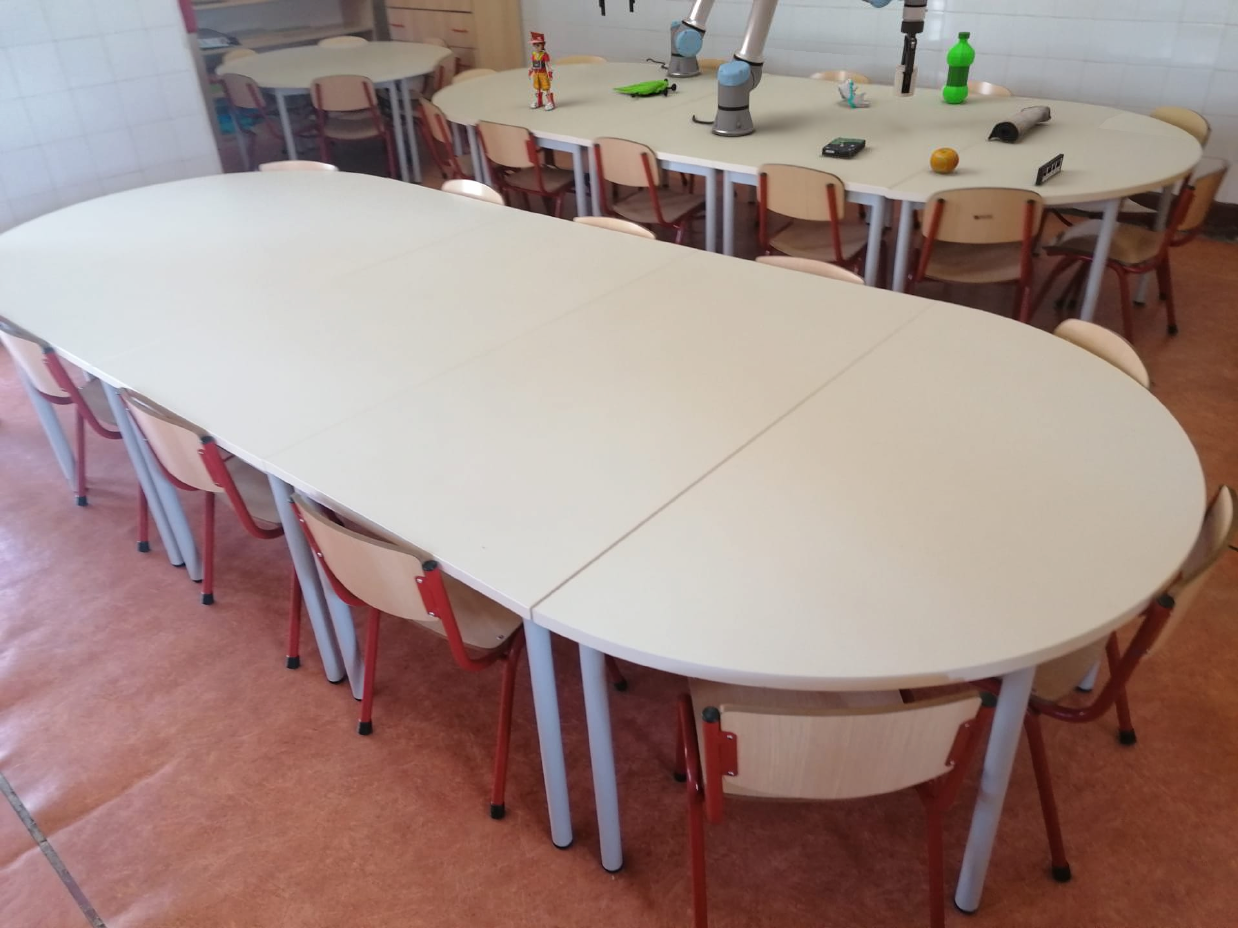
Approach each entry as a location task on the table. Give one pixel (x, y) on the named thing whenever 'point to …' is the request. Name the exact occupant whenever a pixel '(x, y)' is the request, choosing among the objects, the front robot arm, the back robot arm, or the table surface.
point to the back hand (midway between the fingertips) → (617, 14)
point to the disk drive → (843, 147)
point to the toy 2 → (648, 88)
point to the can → (900, 79)
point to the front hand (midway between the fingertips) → (903, 90)
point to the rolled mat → (1020, 123)
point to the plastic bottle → (958, 69)
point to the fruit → (944, 160)
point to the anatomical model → (851, 94)
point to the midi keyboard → (1049, 169)
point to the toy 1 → (541, 71)
